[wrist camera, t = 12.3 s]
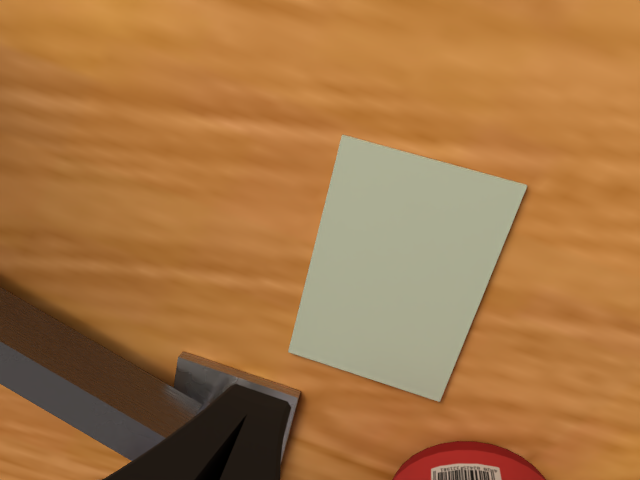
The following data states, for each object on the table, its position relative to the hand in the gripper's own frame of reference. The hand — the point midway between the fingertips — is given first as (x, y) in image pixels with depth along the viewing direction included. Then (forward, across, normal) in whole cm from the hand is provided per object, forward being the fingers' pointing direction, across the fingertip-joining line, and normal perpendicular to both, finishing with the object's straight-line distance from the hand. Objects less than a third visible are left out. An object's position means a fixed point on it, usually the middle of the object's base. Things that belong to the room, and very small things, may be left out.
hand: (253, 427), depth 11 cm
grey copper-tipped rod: (+9, +10, +8) cm, 16 cm away
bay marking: (+10, -2, 0) cm, 11 cm away
